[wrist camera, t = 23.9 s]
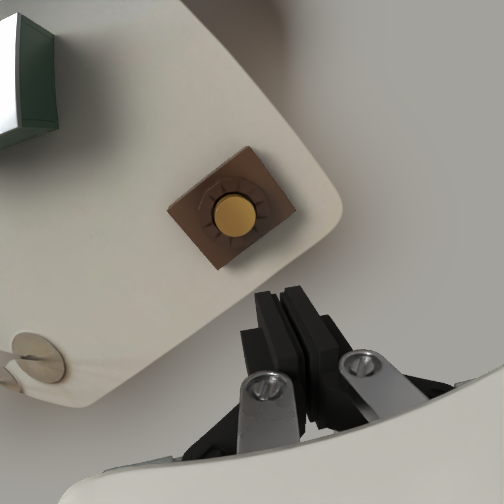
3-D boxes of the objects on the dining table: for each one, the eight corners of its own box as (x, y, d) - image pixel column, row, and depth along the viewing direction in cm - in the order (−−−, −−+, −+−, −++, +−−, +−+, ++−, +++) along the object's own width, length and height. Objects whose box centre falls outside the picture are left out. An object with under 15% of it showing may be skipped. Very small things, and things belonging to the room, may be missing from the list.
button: (237, 186, 29) (239, 188, 28) (260, 216, 30) (263, 220, 29) (206, 210, 30) (206, 214, 28) (230, 239, 31) (231, 244, 29)
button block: (246, 145, 32) (251, 146, 28) (291, 206, 34) (301, 214, 31) (168, 206, 32) (164, 214, 29) (216, 262, 35) (218, 277, 31)
